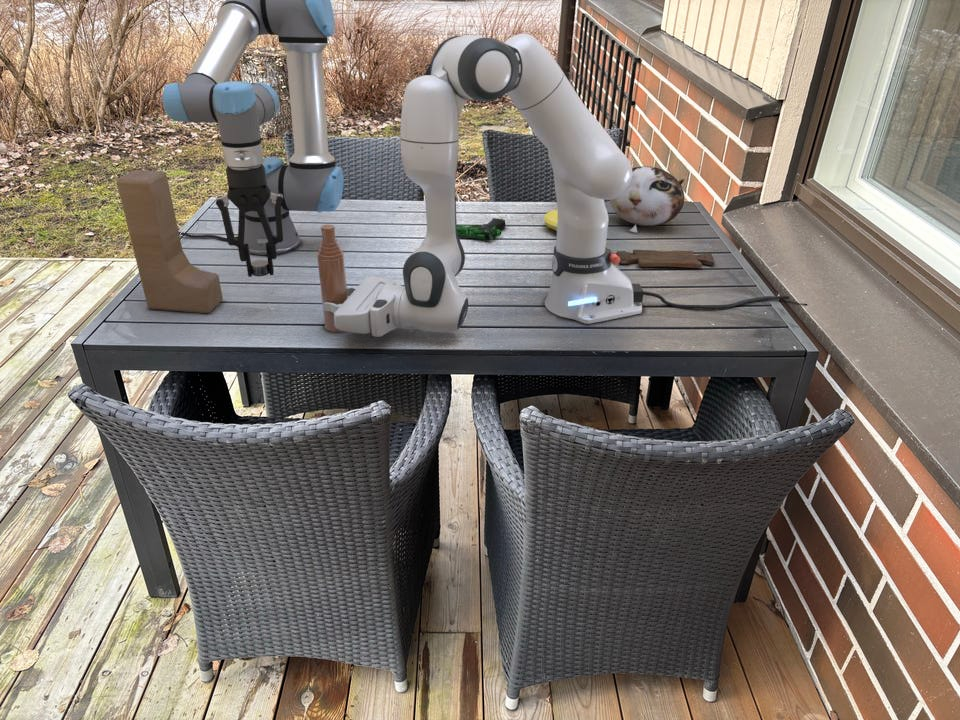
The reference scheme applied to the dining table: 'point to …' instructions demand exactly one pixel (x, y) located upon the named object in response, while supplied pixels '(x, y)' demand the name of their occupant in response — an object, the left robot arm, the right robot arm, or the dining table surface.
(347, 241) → the dining table surface
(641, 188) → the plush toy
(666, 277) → the dining table surface
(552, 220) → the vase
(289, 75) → the left robot arm
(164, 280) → the decorative block
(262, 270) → the cap
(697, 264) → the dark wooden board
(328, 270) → the bottle
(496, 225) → the handgun
